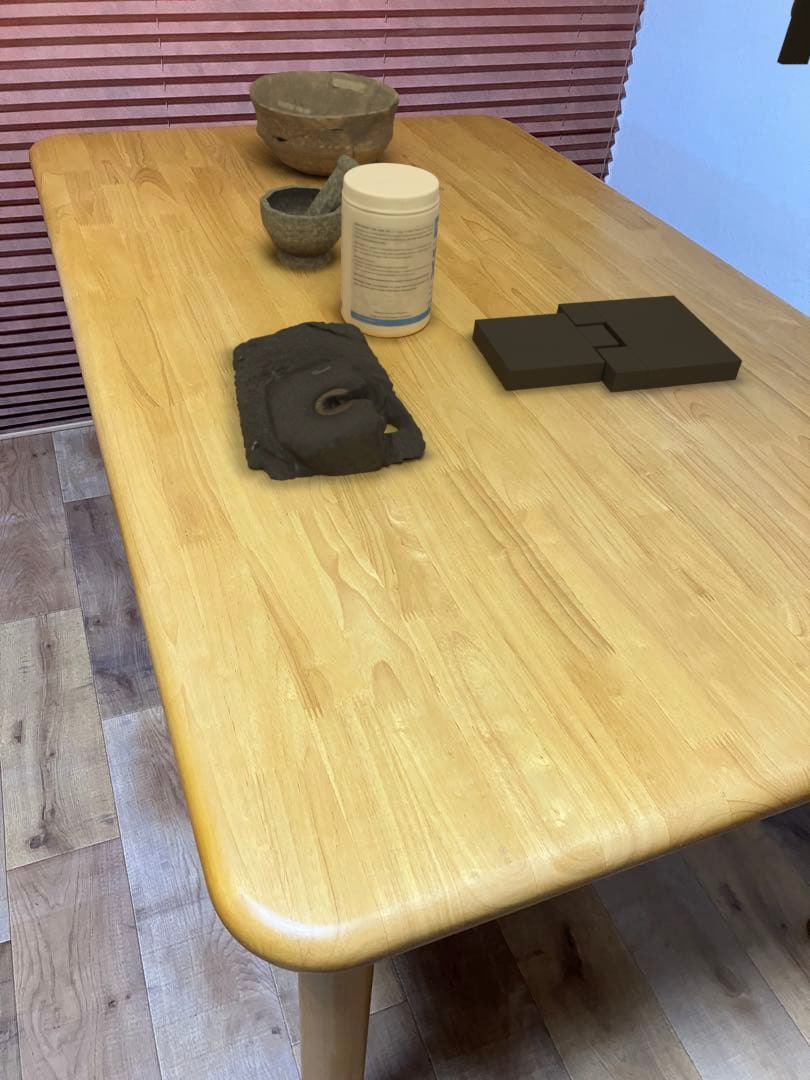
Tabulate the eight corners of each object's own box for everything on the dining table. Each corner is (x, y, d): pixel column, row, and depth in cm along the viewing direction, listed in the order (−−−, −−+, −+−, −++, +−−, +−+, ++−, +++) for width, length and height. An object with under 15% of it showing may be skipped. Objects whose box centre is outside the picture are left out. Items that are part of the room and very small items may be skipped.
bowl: (222, 157, 125) (217, 80, 118) (333, 133, 136) (334, 62, 129) (312, 205, 114) (312, 124, 107) (425, 174, 125) (431, 100, 119)
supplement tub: (447, 328, 92) (463, 188, 82) (372, 350, 88) (379, 205, 78) (395, 290, 98) (404, 155, 88) (322, 309, 93) (323, 169, 84)
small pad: (585, 331, 94) (590, 310, 92) (627, 381, 87) (633, 359, 85) (471, 341, 91) (474, 319, 89) (505, 393, 84) (509, 370, 82)
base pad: (667, 315, 98) (674, 295, 96) (734, 381, 88) (743, 360, 87) (553, 324, 95) (558, 303, 93) (610, 395, 85) (616, 372, 83)
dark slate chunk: (377, 340, 89) (379, 297, 86) (432, 471, 74) (437, 424, 71) (225, 349, 86) (222, 305, 83) (249, 488, 70) (246, 440, 67)
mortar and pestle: (258, 275, 98) (253, 166, 90) (265, 240, 105) (261, 136, 97) (358, 280, 99) (362, 172, 91) (358, 245, 106) (361, 142, 98)
